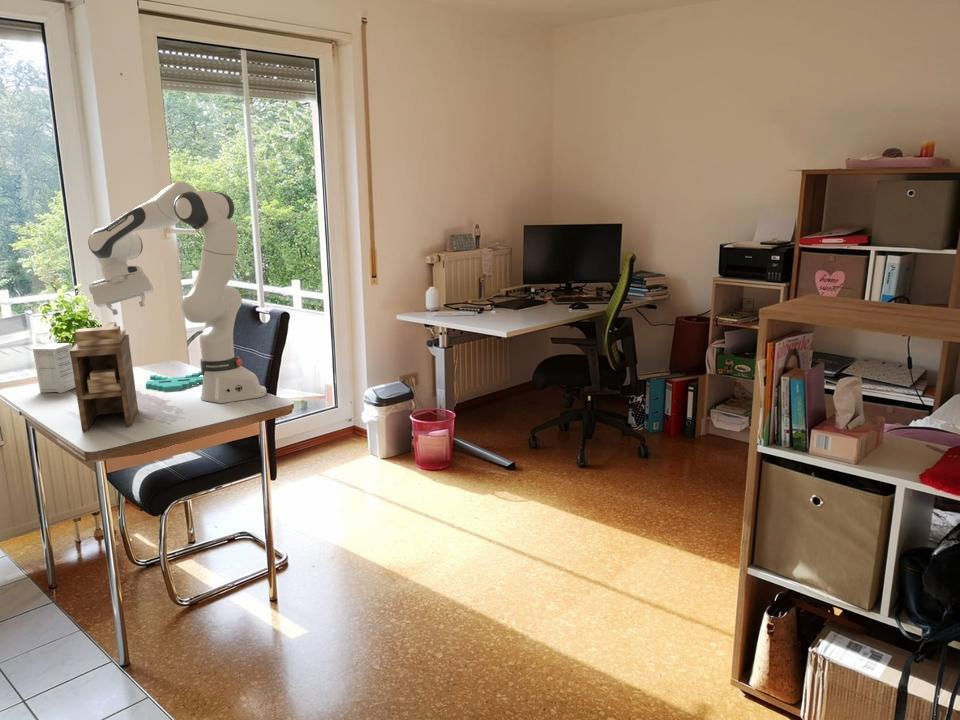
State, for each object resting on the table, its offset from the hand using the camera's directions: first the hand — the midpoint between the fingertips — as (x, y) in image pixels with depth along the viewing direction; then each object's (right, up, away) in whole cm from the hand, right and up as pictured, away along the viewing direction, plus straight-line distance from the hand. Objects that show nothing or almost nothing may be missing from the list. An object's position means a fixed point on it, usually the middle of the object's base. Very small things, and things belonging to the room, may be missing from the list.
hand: (129, 310), depth 269 cm
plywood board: (+3, -10, -24) cm, 26 cm away
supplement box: (-31, -29, +9) cm, 43 cm away
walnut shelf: (+7, -38, -28) cm, 47 cm away
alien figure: (+11, -28, +15) cm, 33 cm away
